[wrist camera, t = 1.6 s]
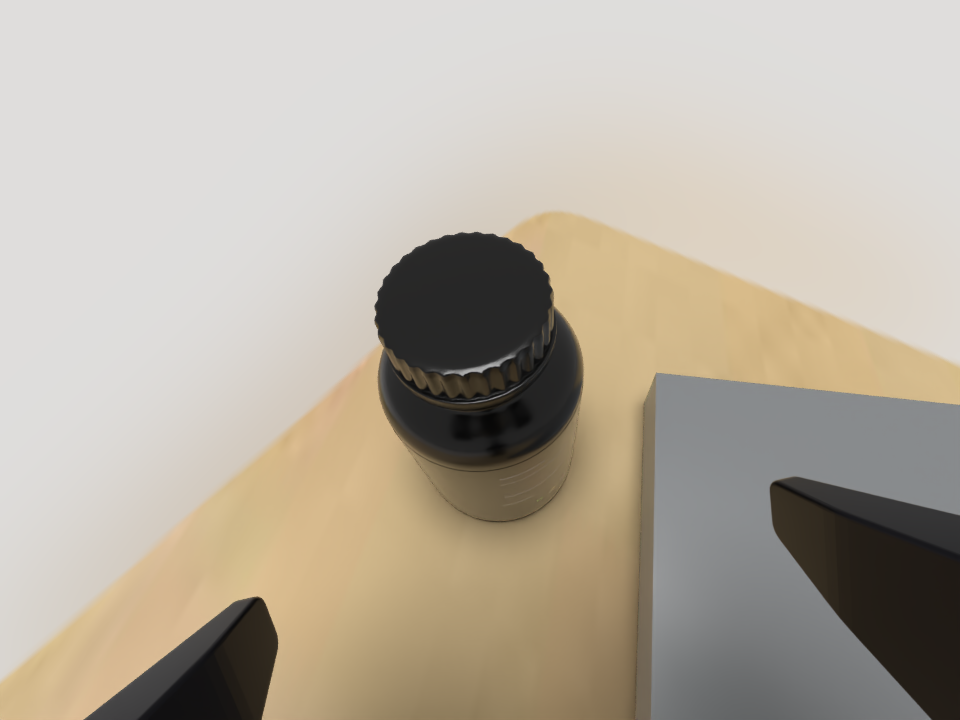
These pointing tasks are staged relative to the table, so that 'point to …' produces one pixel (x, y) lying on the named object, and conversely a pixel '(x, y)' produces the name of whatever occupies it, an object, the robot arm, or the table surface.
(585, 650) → the table surface
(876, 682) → the riser block
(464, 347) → the supplement bottle
